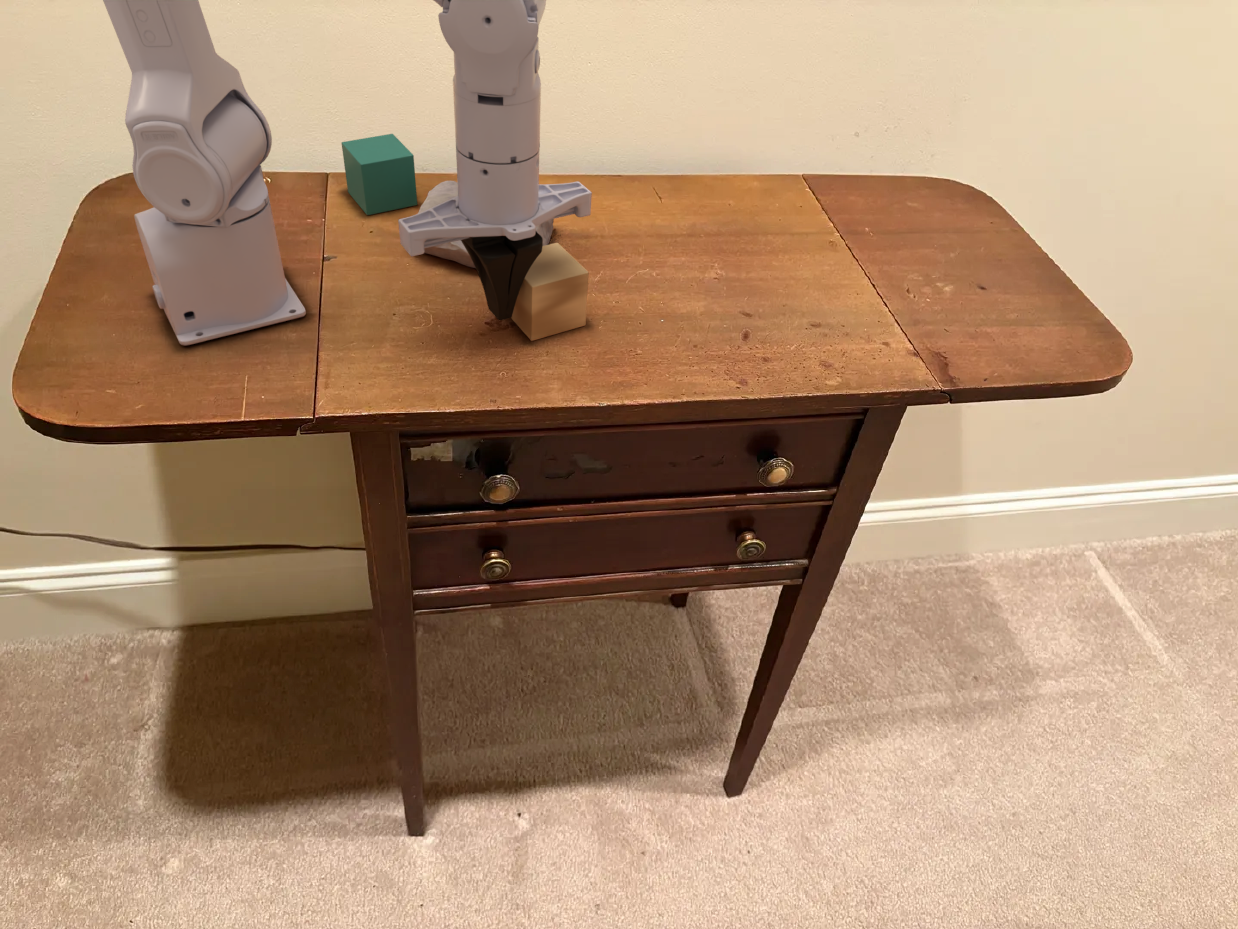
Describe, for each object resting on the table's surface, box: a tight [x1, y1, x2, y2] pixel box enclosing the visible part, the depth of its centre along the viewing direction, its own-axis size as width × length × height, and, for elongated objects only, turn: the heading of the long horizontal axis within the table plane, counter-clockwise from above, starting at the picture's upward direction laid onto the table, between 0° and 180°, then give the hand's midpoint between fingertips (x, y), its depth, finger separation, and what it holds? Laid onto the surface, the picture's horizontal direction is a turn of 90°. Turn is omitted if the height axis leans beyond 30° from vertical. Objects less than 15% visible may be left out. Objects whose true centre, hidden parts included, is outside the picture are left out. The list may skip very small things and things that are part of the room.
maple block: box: [510, 242, 590, 342], centre depth 73 cm, size 5×5×5 cm
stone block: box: [417, 180, 555, 269], centre depth 82 cm, size 12×5×10 cm
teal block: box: [341, 133, 418, 216], centre depth 86 cm, size 5×5×5 cm
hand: (500, 312), depth 72 cm, fingers closed
